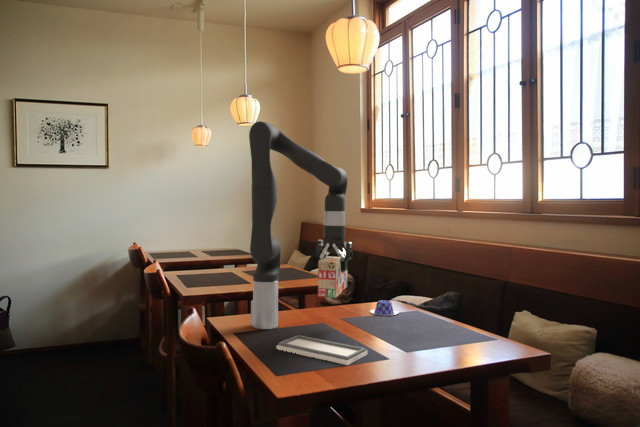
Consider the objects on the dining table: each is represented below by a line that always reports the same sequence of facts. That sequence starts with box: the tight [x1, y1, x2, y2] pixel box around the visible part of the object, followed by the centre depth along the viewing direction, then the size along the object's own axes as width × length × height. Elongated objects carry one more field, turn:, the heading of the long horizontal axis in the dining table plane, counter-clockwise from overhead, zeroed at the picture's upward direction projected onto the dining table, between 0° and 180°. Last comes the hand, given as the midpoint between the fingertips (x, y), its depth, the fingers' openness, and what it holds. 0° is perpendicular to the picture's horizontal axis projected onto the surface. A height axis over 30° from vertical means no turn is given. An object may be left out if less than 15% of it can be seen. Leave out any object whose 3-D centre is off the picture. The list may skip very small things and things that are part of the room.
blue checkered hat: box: [369, 299, 399, 317], centre depth 207 cm, size 12×12×5 cm
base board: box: [276, 334, 369, 366], centre depth 153 cm, size 26×12×2 cm, turn 56°
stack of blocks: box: [317, 255, 348, 299], centre depth 174 cm, size 21×6×12 cm, turn 167°
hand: (333, 270), depth 173 cm, fingers closed on stack of blocks, 7 cm apart
